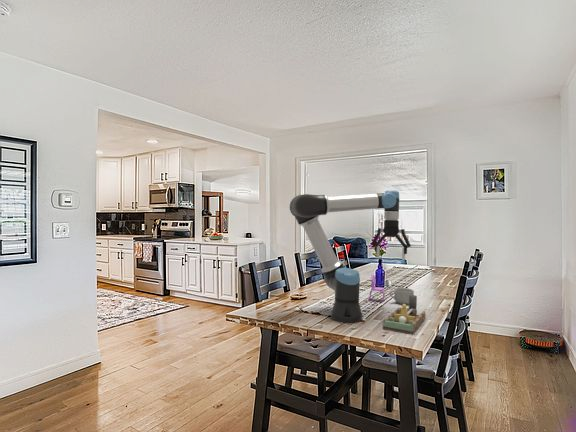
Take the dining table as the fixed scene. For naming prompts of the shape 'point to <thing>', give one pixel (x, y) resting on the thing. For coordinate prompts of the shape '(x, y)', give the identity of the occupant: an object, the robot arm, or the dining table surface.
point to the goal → (398, 324)
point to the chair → (376, 288)
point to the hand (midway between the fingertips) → (390, 259)
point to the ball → (402, 319)
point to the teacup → (402, 295)
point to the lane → (417, 322)
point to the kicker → (404, 310)
